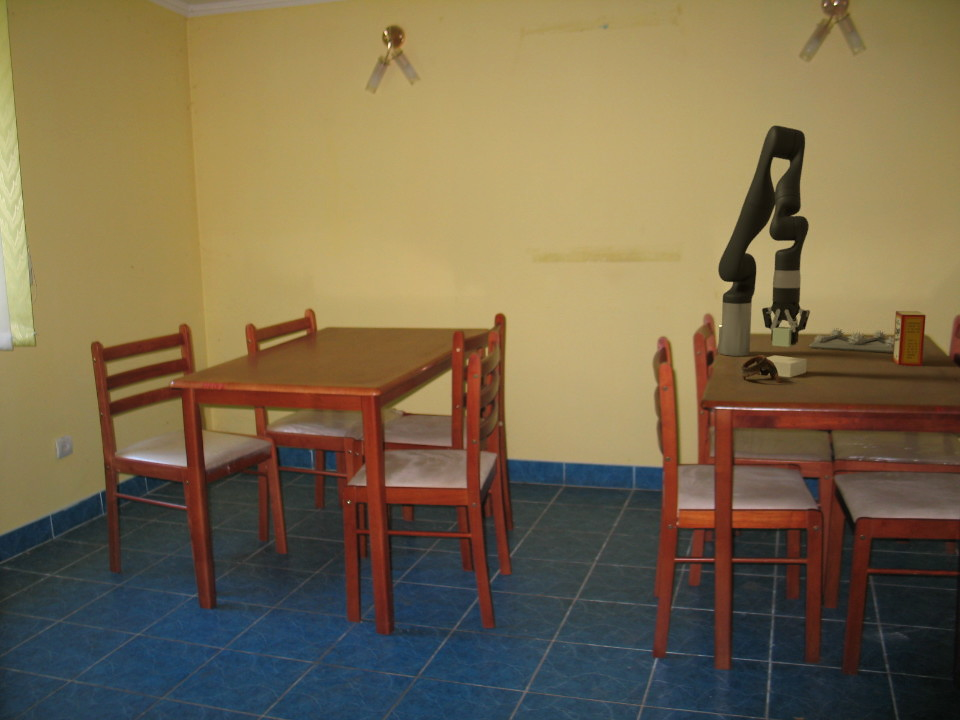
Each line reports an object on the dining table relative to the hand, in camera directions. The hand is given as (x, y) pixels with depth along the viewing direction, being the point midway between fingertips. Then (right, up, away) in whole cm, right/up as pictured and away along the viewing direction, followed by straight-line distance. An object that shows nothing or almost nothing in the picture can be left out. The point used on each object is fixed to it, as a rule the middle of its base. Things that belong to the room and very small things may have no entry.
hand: (784, 343), depth 262 cm
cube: (0, -1, 0) cm, 0 cm away
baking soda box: (+43, -6, +15) cm, 46 cm away
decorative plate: (+42, -1, +47) cm, 63 cm away
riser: (0, -9, +2) cm, 9 cm away
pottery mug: (-10, -11, -9) cm, 17 cm away
